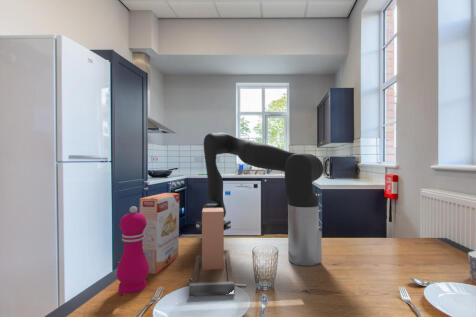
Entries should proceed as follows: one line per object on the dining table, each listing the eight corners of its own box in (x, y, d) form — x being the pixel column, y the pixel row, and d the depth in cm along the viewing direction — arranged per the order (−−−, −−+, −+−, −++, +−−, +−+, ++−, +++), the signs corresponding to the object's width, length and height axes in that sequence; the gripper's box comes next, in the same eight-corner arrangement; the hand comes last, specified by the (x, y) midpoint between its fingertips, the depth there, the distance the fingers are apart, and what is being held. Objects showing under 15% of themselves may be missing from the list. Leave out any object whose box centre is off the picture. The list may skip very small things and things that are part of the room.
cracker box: (157, 277, 68) (158, 198, 68) (137, 275, 69) (137, 198, 69) (180, 258, 81) (180, 192, 82) (162, 256, 83) (162, 192, 83)
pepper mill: (155, 285, 63) (155, 204, 64) (134, 300, 56) (135, 209, 57) (131, 280, 66) (132, 203, 66) (109, 294, 59) (109, 207, 59)
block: (223, 260, 77) (223, 207, 77) (223, 268, 71) (223, 211, 71) (203, 261, 76) (203, 208, 77) (202, 269, 70) (202, 211, 71)
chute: (229, 260, 79) (229, 250, 79) (234, 298, 57) (234, 283, 57) (196, 261, 78) (196, 251, 78) (189, 300, 56) (189, 285, 56)
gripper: (196, 210, 99) (192, 220, 82) (230, 209, 100) (233, 219, 83) (196, 229, 99) (192, 243, 82) (230, 228, 100) (233, 242, 83)
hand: (213, 231), depth 82 cm, fingers closed
